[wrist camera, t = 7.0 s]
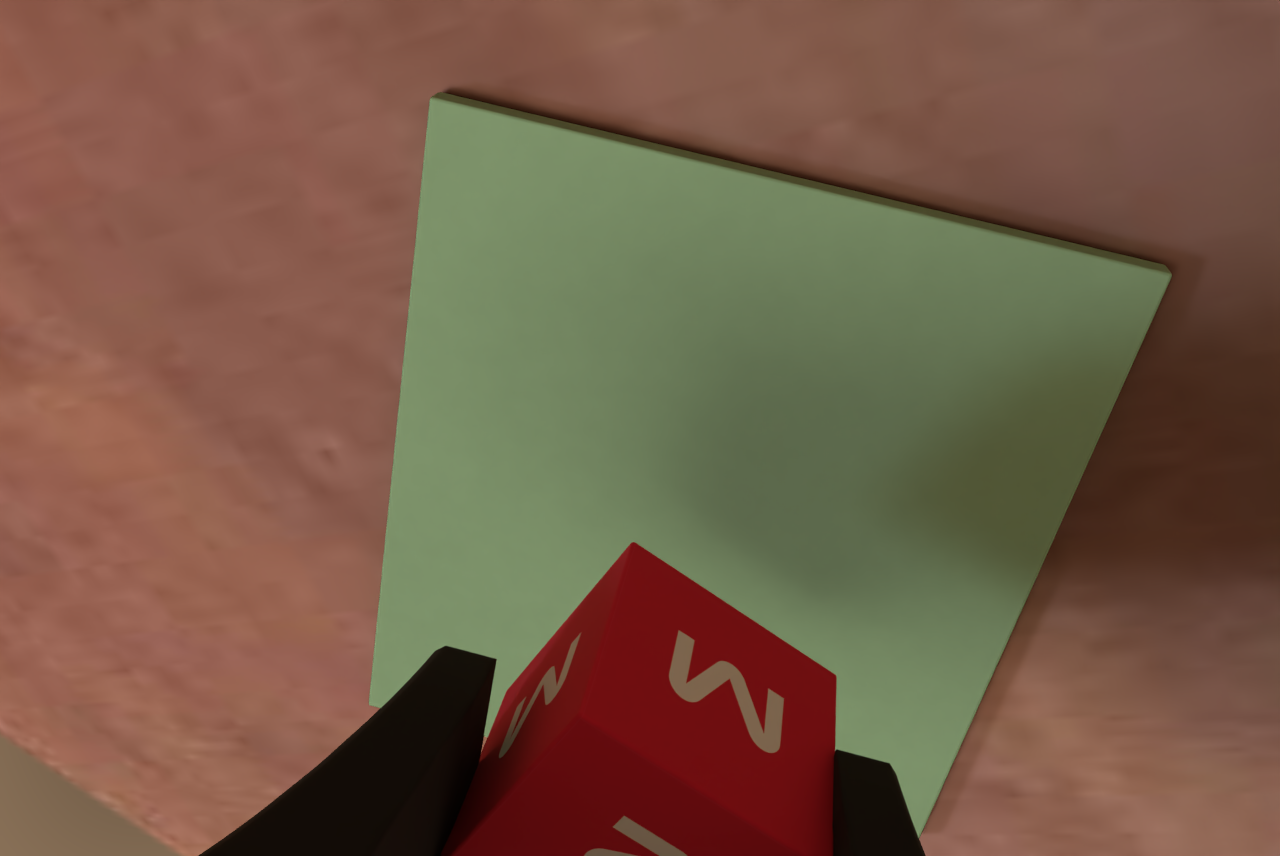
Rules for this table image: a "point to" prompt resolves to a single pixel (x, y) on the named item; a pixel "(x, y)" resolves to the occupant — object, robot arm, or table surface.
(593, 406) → the green square board
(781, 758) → the red letter cube
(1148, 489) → the table surface
